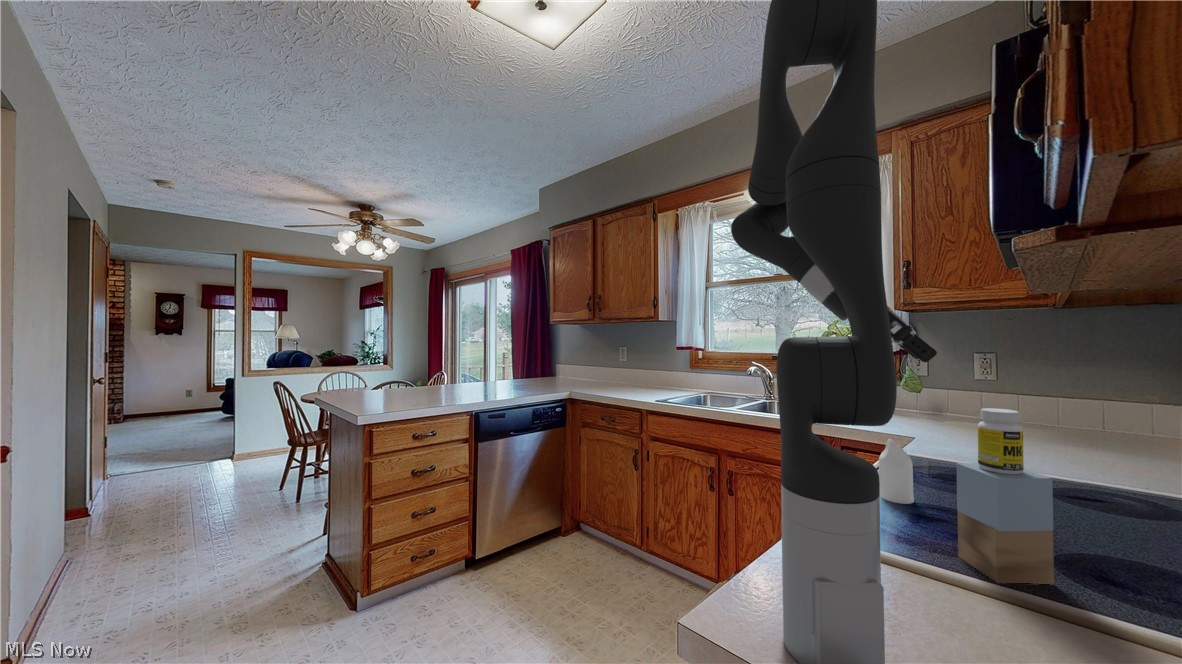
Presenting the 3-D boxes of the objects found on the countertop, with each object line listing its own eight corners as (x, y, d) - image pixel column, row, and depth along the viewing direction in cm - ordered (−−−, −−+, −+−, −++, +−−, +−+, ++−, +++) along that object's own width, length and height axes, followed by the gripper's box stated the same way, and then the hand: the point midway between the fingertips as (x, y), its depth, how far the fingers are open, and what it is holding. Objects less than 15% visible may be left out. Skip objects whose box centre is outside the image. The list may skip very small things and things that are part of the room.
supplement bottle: (1007, 476, 60) (1006, 414, 60) (969, 467, 64) (968, 408, 64) (1033, 473, 61) (1031, 411, 61) (994, 464, 66) (992, 406, 66)
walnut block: (1053, 585, 59) (1052, 531, 59) (996, 583, 60) (995, 530, 60) (1009, 558, 66) (1008, 510, 66) (958, 557, 66) (957, 509, 66)
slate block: (1053, 531, 59) (1052, 478, 59) (998, 531, 59) (997, 478, 59) (1005, 510, 66) (1004, 462, 66) (957, 510, 66) (956, 463, 66)
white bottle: (920, 441, 87) (896, 443, 86) (921, 502, 87) (897, 505, 86) (892, 434, 93) (870, 436, 92) (893, 492, 93) (871, 494, 92)
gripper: (857, 261, 65) (959, 339, 59) (856, 272, 77) (940, 338, 72) (817, 299, 68) (911, 378, 62) (822, 304, 80) (901, 370, 74)
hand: (927, 356), depth 67 cm, fingers open, 8 cm apart
